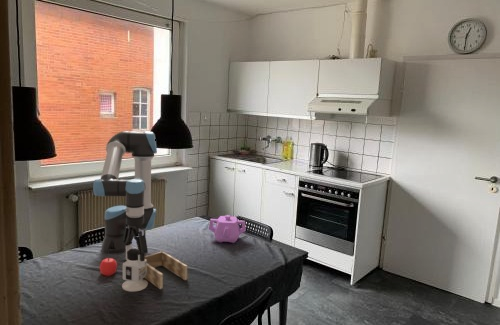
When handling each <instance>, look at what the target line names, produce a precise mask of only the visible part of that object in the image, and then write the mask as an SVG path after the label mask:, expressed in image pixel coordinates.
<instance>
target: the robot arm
mask: <svg viewBox="0 0 500 325" xmlns="http://www.w3.org/2000/svg"><path fill="white" fill-rule="evenodd" d="M155 139H156V134H155V133H154V132H153V131H139V130H137V131H135V130H134V131H133V130H131V131H130V130H123V131H120V132H118V133H116V134H114V135H112V137H110V139H109V140H108V141H107V143H106V147H105V150H106V155H105V159H104V163H103V166H102V170H101V171H102V172H101V175H100V178H98V179H94V181H93V186H92V187H93V188H92V189H93V190H92V192H93V195H94V196H96V197H125V205H114V206H112V207H111V206H110V207H109V208H107V209H106V210H105V211H104V238H103V241H102V244H101V251H102V253H105V254H110V255H111V254H112V255H115V254H116V255H117V254H118V255H119V254H123V253H125V260H126V261H127V251H128V250H130V249H133V239H134V240H135V242H136V245H137V247H136V248H138V250H139V253H138V268H142V267H145V256H146V255H145V254H148V252H149V250H148V244H147V243H148V242H147V238H146V236H147V235H146V233H147V232H146V231H150V230H153V229H154V227H155V220H156V212H157V208H154V204H153V203H152V160H153V158H154V157H155V155H156V154H158V149H157V148H156V147H157V140H156V141H155ZM126 153H127V154H131V157H132V158H133V159H134V178H131V179H119V178H120V177H119V176H120V170H121V166H122V161H123V156H124V155H125V154H126Z"/></svg>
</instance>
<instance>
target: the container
mask: <svg viewBox="0 0 500 325" xmlns="http://www.w3.org/2000/svg"><path fill="white" fill-rule="evenodd" d="M138 253H139V250H138V247H134V248H133V247H132V249H130V250H128V251H127V260H126V261H125V262H123V263H122V280H123V281H133V282H139V281H140V280H141V279H145V278H144V277H145V276H146V275H147V259H145V267H142V268H138Z"/></svg>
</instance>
